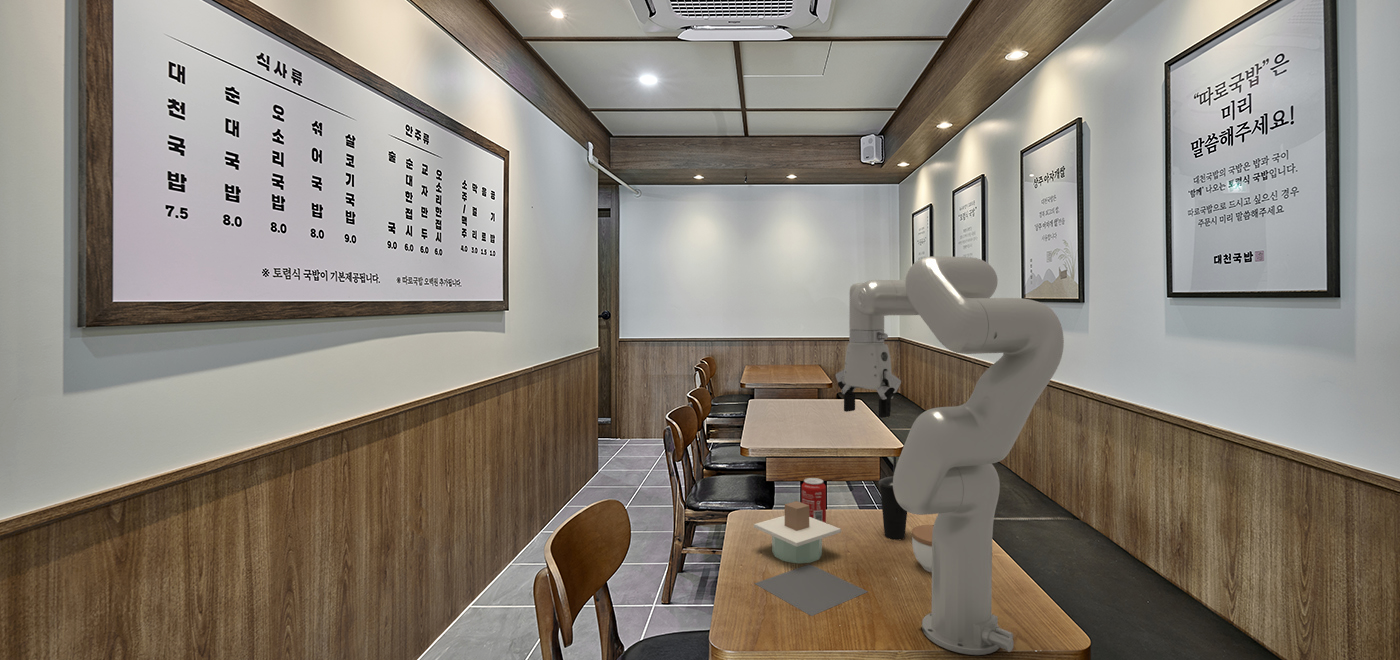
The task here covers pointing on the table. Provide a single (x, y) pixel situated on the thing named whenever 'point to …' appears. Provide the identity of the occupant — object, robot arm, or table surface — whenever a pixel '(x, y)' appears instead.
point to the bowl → (797, 551)
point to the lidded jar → (923, 545)
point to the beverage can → (815, 498)
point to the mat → (811, 589)
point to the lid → (797, 526)
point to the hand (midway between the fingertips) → (866, 413)
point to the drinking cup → (892, 509)
